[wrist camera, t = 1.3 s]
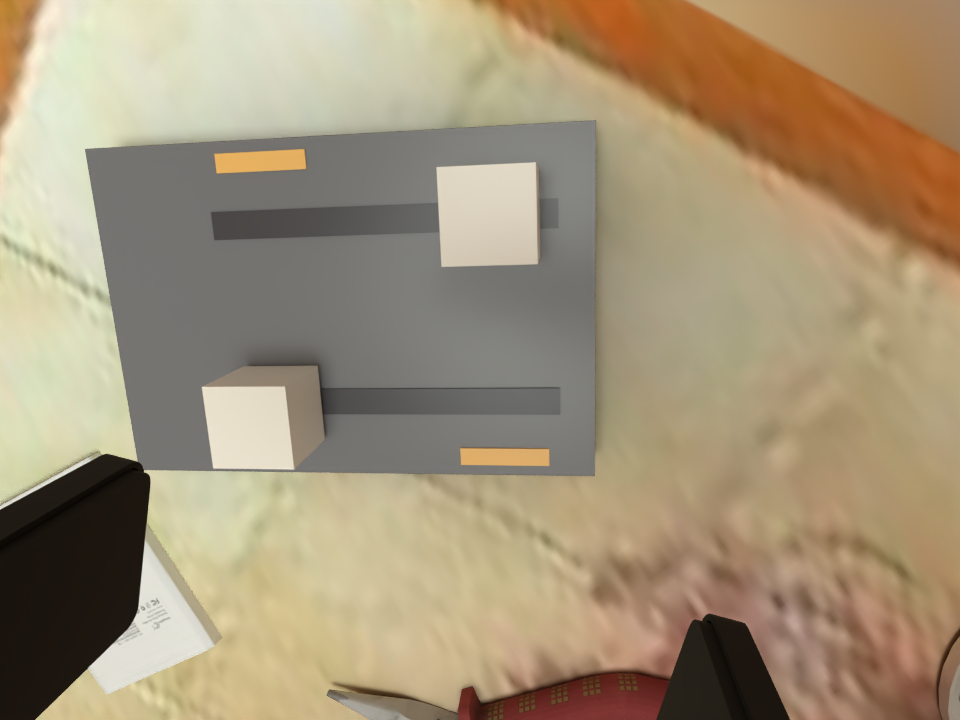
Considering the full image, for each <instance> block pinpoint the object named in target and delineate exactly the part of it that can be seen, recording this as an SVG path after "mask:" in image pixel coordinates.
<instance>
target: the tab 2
mask: <svg viewBox="0 0 960 720" xmlns="http://www.w3.org/2000/svg"><path fill="white" fill-rule="evenodd" d="M436 169H437V189H438V209H439V228H440V248H441V267H458V266H493V265H529V264H538V262H539V260H540V201H539V168H538V166H537V164H536V162H530V163H510V164H489V165H468V166H448V167H436Z"/></svg>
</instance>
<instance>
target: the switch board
mask: <svg viewBox="0 0 960 720" xmlns="http://www.w3.org/2000/svg"><path fill="white" fill-rule="evenodd" d="M85 152H86V158H87V163H88V169H89V175H90V181H91V187H92V193H93V199H94V205H95V211H96V217H97V223H98V229H99V234H100V240H101V246H102V252H103V258H104V264H105V270H106V276H107V282H108V288H109V294H110V300H111V305H112V311H113V317H114V323H115V329H116V335H117V341H118V347H119V353H120V359H121V365H122V371H123V376H124V382H125V388H126V394H127V400H128V406H129V412H130V418H131V424H132V430H133V436H134V442H135V447H136V453H137V459H138V462H139V463H140V464H142V466H143V469H144V470H185V471H257V472H330V473H402V474H474V475H547V476H595V243H596V120H593V121H575V122H558V123H540V124H522V125H504V126H486V127H469V128H451V129H433V130H415V131H397V132H379V133H362V134H344V135H326V136H308V137H290V138H273V139H255V140H237V141H219V142H201V143H183V144H166V145H148V146H130V147H112V148H94V149H85ZM530 162H536V164H537V166H538V168H539V201H540V260H539V262H538V264H529V265H493V266H458V267H441V248H440V228H439V209H438V189H437V169H436V167H448V166H468V165H489V164H510V163H530ZM243 366H318V374H319V384H320V394H321V404H322V415H323V425H324V435H325V440H324V441H323V442H322V443H321V444H320V445H319V446H318V447H317V448H316V449H315V450H314V451H313V452H312V453H311V454H310V455H309V456H308V457H307V458H305V459H304V460H303V461H302V462H301V463H300V464H299V465H298V466H297V467H296V468H295V469H294V470H289V469H214V468H213V463H212V456H211V449H210V442H209V435H208V428H207V421H206V413H205V406H204V399H203V392H202V386H205V385H207V384H209V383H211V382H213V381H215V380H217V379H219V378H221V377H223V376H225V375H227V374H229V373H231V372H233V371H235V370H237V369H239V368H241V367H243Z"/></svg>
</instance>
